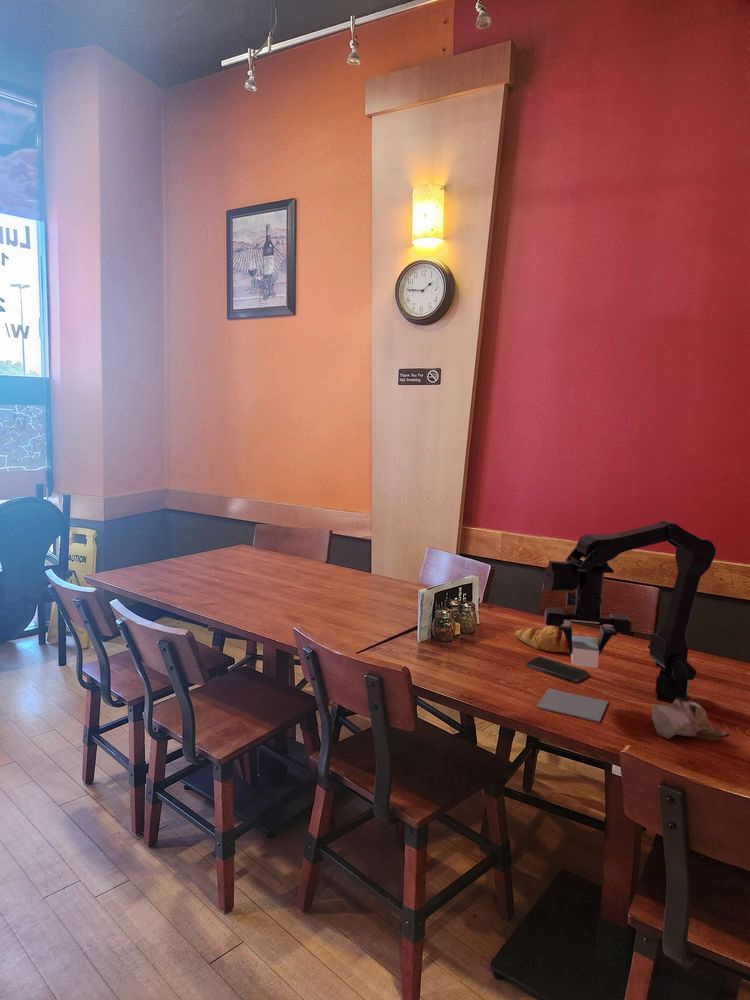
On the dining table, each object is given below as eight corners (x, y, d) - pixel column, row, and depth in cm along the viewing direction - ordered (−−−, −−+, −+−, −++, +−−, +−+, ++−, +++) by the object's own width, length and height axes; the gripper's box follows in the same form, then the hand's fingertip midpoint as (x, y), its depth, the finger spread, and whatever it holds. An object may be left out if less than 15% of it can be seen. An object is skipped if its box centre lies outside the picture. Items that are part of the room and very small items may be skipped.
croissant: (510, 652, 194) (505, 633, 190) (523, 629, 201) (519, 609, 197) (581, 668, 182) (578, 648, 178) (592, 643, 188) (589, 623, 184)
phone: (575, 681, 164) (524, 663, 175) (575, 685, 165) (523, 667, 175) (590, 672, 170) (539, 655, 180) (590, 676, 170) (539, 659, 180)
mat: (607, 703, 154) (608, 701, 154) (599, 722, 144) (599, 720, 144) (548, 689, 161) (548, 688, 161) (536, 707, 151) (536, 706, 151)
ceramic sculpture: (641, 686, 143) (704, 687, 145) (636, 723, 144) (699, 723, 146) (669, 709, 133) (736, 709, 135) (663, 748, 134) (730, 749, 136)
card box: (597, 668, 148) (599, 651, 147) (572, 665, 149) (573, 648, 149) (594, 653, 157) (595, 637, 156) (570, 651, 158) (571, 635, 157)
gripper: (625, 584, 157) (620, 647, 159) (545, 578, 160) (541, 639, 162) (634, 598, 146) (628, 664, 148) (548, 590, 149) (543, 655, 152)
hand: (583, 655), depth 153 cm, fingers closed on card box, 6 cm apart
